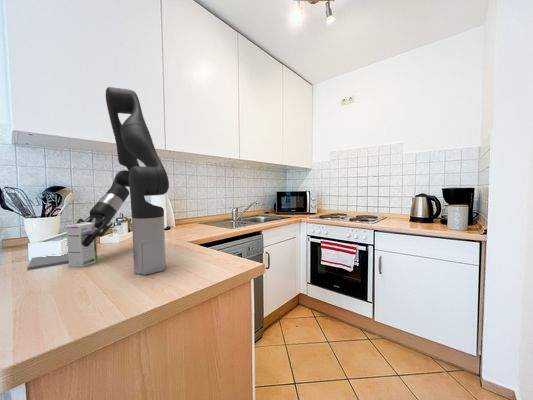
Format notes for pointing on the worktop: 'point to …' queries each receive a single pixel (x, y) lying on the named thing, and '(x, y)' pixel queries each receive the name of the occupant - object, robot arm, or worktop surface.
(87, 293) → the worktop surface
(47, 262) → the mat
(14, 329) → the worktop surface
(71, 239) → the syrup box
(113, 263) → the worktop surface
